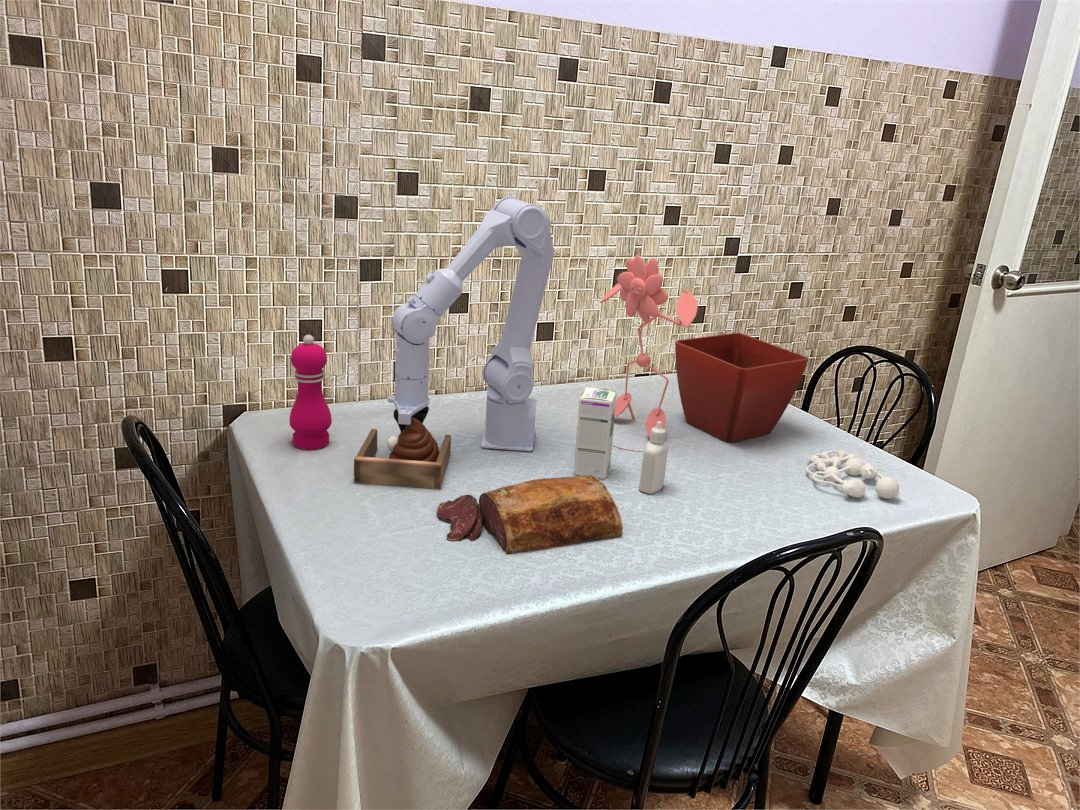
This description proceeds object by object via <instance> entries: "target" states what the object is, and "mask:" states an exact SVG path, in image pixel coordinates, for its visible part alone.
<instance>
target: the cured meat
mask: <svg viewBox="0 0 1080 810" xmlns="http://www.w3.org/2000/svg"><path fill="white" fill-rule="evenodd" d="M436 514H437V516H438V518H440V519H441V520H443V521H444V522H447V523H448V524H450V526H449V530H450V531H449V532H448V533H447V534H446V539H447V540H449V541H453V542H455V541H458V542H460V543H462V540H463V539H468V540H469V541H470V542H474V541H475V540H476V539H477V538H478V537H479V535H480V534H481V531H482V528H484V529H485V530H486V531H487V532H488V534H492V533H494V534H495V536H496V538H497V539H498V542H499V543H500V546H501V549H502V550H503V551H504V553H505V554H511V553H518V552H525V551H534V550H543V549H551V548H557V547H564V546H565V547H566V546H567V545H568V546H569V545H572V544H576V543H580V542H586V541H591V540H592V541H593V540H597V539H599V540H600V539H609V538H615V537H622V536H623V529H624V527H623V526H624V525H623V522H622V518H621V517H622V516H621V513H620V511H619V508H618V506H617V504H616V502H615V500H614V498H613V496H612V495H611V493H610V491H609V490H608V487H607V486H606V484H604V483H603V481H601V479H598V478H596V477H594V476H592V475H582V476H579V475H574V476H573V475H572V476H565V477H564V476H562V477H546V478H538V479H537V478H536V479H535V478H534V479H532V480H527V481H524V482H521V483H515V484H511V485H505V486H501V487H497V488H496V489H492V490H489V491H486V492H483V493H481V494H480V495H479V497H478V500H477V499H476V497H475V496H473V495H472V494H464V495H460V496H459V497H456V498H455V499H454V500H447V501H443V502H440V503H439V504H438V507H437V510H436Z"/></svg>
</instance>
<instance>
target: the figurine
mask: <svg viewBox="0 0 1080 810" xmlns="http://www.w3.org/2000/svg"><path fill="white" fill-rule="evenodd" d="M625 267H626V270H627V271H623V272H621V273H620V274H619V275H618V276H617V278H616V280H617V283H616V284H615V285H614V286H613V287H612V288H611V289H609V290H608V292H606V293H605V295H604V296H603V298H601V300H600V301H599V303H600V304H602V303H604V302H606V301H608V300H610V299H611V298H612V297H614V296H615V295H616V294H618V293H619V292H620V293H619V296H620V300H622V301H623V302H625V311H626V312H625V313H626V315H627V316H628V317H630V318H632V317H635V315H636V313H638V316H639V317H640V319H641V321H642V322H643V323H642V324H639V326H638V327H637V332H638V341H639V347H640V351H641V352H640V353H639V354H638V355H637V356H636V359H635V360H631V361H630V362H627V364H626V373H625V374H626V375H625V387H624V388H625V391H624V393H623V394H621V395H620V396H618V397H616V405H615V417H614V419H615V418H617V417H618V416H620V415H621V414H623V412H625V410H626V409H627V408H628V409H629V413H630V417H631V420H632V421H634V420H635V419H636V418H635V415H634V411H633V409H632V408H633V407H632V405H631V401H632V394H631V393H630V392H629V393H628V378H629V370H630V369H629V366H630V365H631V364H632V365H633V364H635V363H636V364H637V365H638V366H639V367H640V368H647V367H648V368H649V369H651V371H654V373H656V374H658V375H659V376H661V377H662V378H663V379H665V380H666V382H665V386H664V388H663V392H662V394H661V398H660V401H659V405H658V407H655V408H653V409H652V410H651V411H650V413H649V414H648V415H647V418H646V420H645V429H646V432H647V434H648V437H649V438H650V435H651V429H652V428H654V427H656V425H657V422H658V421H660V422H662V428H663V429H665V428H666V423H667V421H666V415H665V411H664V410H663V409H662V408H661V407H662V404H663V400H664V399H665V398H664V397H665V394H666V391H667V388H668V385H669V382H670V381H669V378H668V377H666V376H665V375H663V374H662V373H660V372H659V371H658V370H657V369H655V368H654V367H652V366H651V365H650V363H651V356H650V355H649V354H647V353H644V348H643V339H642V330H641V329H642V328H644V327H645V326H646V325H647V324H649V323H651V322H652V321H653V320H656V319H657V318H662V319H664V320H665V321H666V320H667V321H668V322H670V323H673V324H675V325H678V326H680V327H681V326H682V325H683V326H685V327H686V328H687V329H688V328H689V327H690V325H692V323H693V321H694V320H695V318H696V317H697V313H698V309H699V306H698V302H697V301H698V300H697V299H696V297H695V296H694V293H692V292H690V290H689V289H685V290H684V292H683V293H681V294H680V295H679V296H678V299H677V300H676V304H675V305H676V306H675V312H676V316H677V318H678V320H679V321H677V320H676V319H673V318H671V317H669V316H666V315H664V314H663V313H662V311H660V309H659V306H660V305H663V304H665V303H666V302H667V301H668V299H669V294H668V292H667V291H666V290H664V289H663V288H662V285H663V283H664V282H663V281H664V278H663V275H662V274H660V272H659V263H658V260H657V258H655V257H652V258H651V259H650V260H649V261H648V262H647V264H646V262H645V260H644V259H643V257H642V256H641V255H640V254H636V255H635V256H634V258H632V257H629V258H626V261H625ZM665 436H667V435H666V434H665ZM612 448H617V449H618V450H621V451H627V452H629V451H630V452H637V453H643V451H641V450H640V451H639V450H633V449H627V448H623V447H618V446H616V445H615V446H614V445H612Z"/></svg>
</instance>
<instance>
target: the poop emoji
mask: <svg viewBox="0 0 1080 810" xmlns="http://www.w3.org/2000/svg"><path fill="white" fill-rule="evenodd" d="M386 447H387V449H388V450H389V451H390V453H389V456H388V458H387V459H400V460H413V461H427V462H436V461H437V458H438V455H439V452H440V449H439V445H438V442H437V440H436V439H435V438H434V436H433V434H432V433H431V432H430V431H429V429H428V428H426V426H425V424H424V423H423V424H422V423H421V422H420V421H418V420H417V419H415V418H412V417H411V424H410V425H407V424H406V426H405V429H404V430H403V431H402V432H401V431H400V432H399V434H398V436H396V435H391V436H390V437H388V439H387V441H386Z"/></svg>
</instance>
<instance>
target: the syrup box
mask: <svg viewBox="0 0 1080 810" xmlns="http://www.w3.org/2000/svg"><path fill="white" fill-rule="evenodd" d="M578 399H579V400H578V411H577V412H578V413H577V427H576V438H575V439H576V440H575V452H574V453H575V454H574V465H573V466H574V467H573V475H574V476H582V475H592V476H594V477H596V478H597V479H599V480H606V478H607V476H608V473H609V470H610V468H611V459H612V450H613V439H614V426H615V418H616V416H615V405H616V399H617V391H616V390H613V389H607V388H600V387H584V390H583V391H582V393H581V394H580V397H579V398H578ZM614 417H615V418H614Z"/></svg>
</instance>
